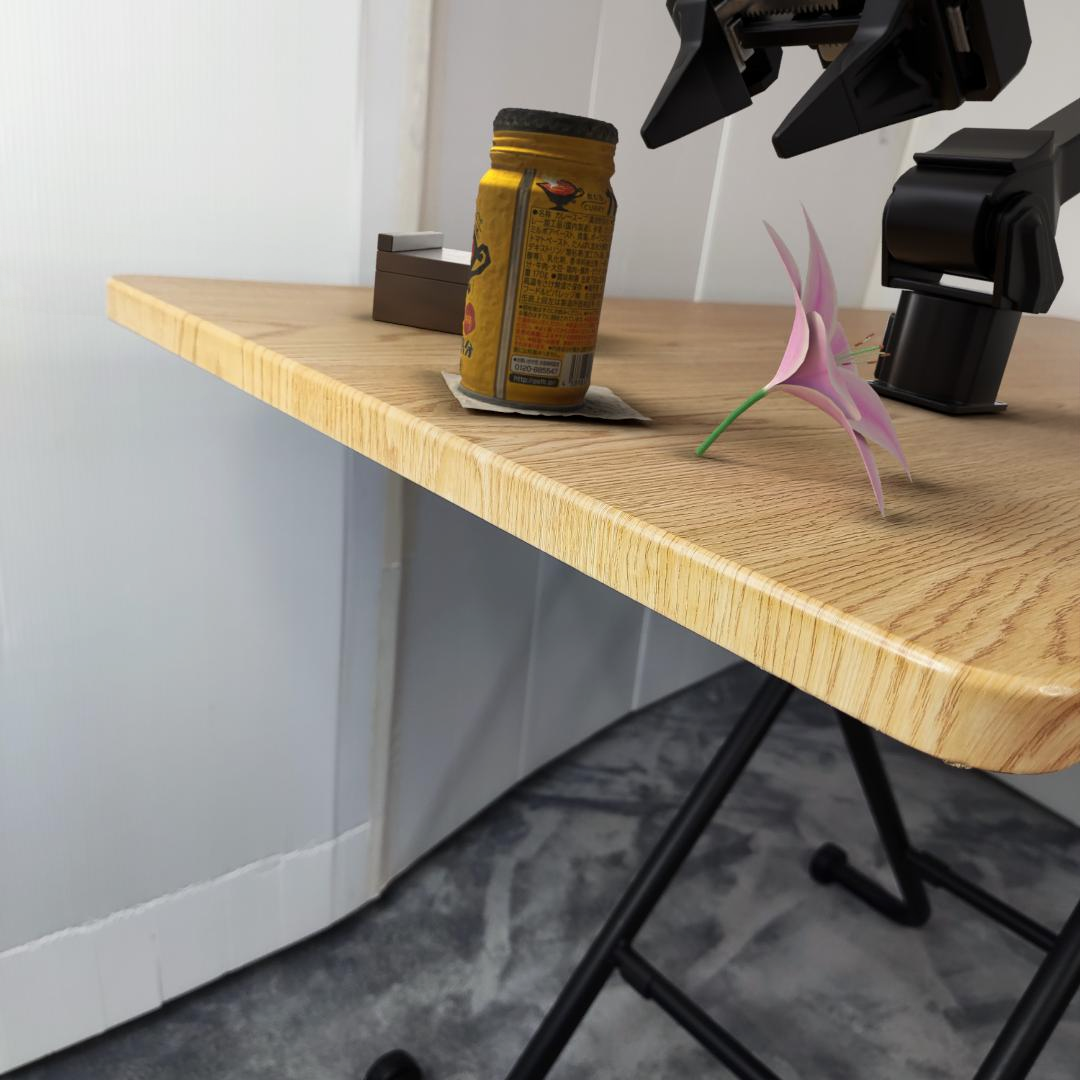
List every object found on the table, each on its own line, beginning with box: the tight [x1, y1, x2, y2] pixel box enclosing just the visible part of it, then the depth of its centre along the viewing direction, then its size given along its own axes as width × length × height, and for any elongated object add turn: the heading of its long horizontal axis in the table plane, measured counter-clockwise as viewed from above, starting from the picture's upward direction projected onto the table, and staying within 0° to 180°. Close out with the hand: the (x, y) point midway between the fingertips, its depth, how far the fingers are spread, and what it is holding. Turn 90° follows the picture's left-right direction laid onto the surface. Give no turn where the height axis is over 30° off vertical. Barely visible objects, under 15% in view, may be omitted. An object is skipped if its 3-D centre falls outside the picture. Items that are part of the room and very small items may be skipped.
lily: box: [695, 200, 913, 518], centre depth 36 cm, size 12×12×10 cm
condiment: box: [440, 107, 653, 421], centre depth 42 cm, size 7×8×12 cm
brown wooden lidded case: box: [371, 230, 472, 336], centre depth 62 cm, size 11×10×5 cm
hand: (705, 144), depth 43 cm, fingers open, 9 cm apart
